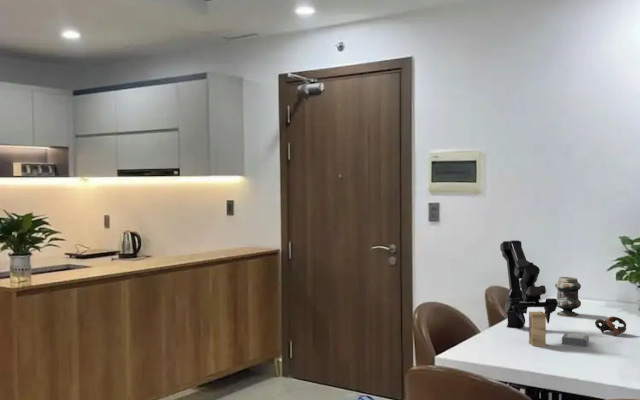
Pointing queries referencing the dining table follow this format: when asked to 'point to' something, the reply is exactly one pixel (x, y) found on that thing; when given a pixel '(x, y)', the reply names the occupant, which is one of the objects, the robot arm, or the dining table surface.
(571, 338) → the base tile
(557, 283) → the apothecary jar
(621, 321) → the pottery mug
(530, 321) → the oak post
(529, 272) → the robot arm
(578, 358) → the dining table surface
